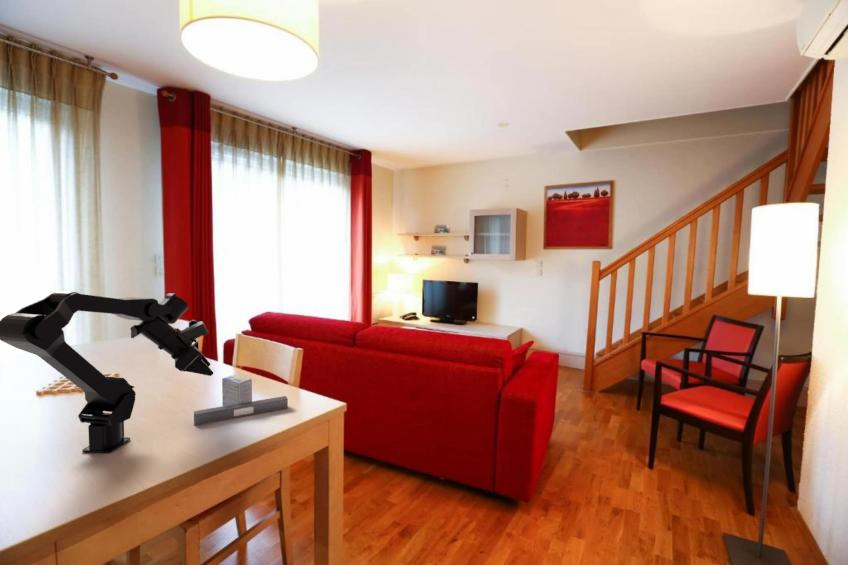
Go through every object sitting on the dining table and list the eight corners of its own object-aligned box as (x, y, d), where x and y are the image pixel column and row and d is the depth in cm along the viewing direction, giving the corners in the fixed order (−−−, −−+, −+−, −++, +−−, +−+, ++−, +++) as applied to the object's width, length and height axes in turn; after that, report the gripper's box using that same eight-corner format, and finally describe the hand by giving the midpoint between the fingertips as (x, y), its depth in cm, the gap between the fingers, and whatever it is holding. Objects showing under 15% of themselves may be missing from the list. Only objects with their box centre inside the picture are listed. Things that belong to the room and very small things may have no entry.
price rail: (194, 426, 104) (194, 415, 104) (193, 421, 106) (193, 411, 106) (287, 408, 117) (287, 399, 117) (285, 405, 119) (285, 395, 119)
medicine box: (252, 407, 117) (252, 378, 117) (239, 412, 114) (239, 382, 113) (235, 401, 121) (235, 374, 120) (221, 406, 117) (221, 377, 117)
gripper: (189, 318, 100) (237, 355, 107) (186, 308, 116) (228, 341, 123) (152, 352, 97) (204, 388, 103) (154, 336, 112) (199, 369, 119)
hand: (210, 369), depth 112 cm, fingers open, 9 cm apart
